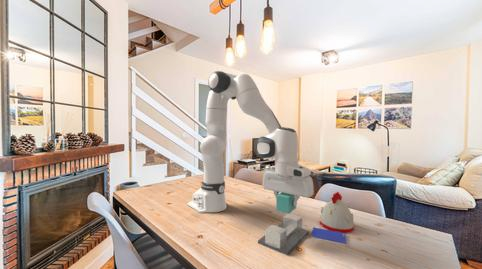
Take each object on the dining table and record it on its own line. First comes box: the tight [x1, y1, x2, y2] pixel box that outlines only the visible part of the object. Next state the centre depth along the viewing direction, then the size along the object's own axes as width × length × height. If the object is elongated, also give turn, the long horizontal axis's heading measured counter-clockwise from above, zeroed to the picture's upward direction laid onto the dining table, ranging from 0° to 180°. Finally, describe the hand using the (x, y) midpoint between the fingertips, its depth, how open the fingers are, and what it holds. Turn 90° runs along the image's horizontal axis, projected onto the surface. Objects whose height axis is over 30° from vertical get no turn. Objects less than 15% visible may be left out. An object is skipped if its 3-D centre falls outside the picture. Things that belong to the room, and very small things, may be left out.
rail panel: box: [257, 212, 310, 256], centre depth 81 cm, size 12×20×6 cm, turn 142°
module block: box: [275, 192, 297, 215], centre depth 81 cm, size 5×7×6 cm
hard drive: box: [311, 226, 348, 246], centre depth 83 cm, size 2×8×12 cm
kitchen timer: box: [319, 191, 355, 234], centre depth 93 cm, size 14×14×15 cm
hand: (286, 204), depth 81 cm, fingers closed on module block, 5 cm apart
